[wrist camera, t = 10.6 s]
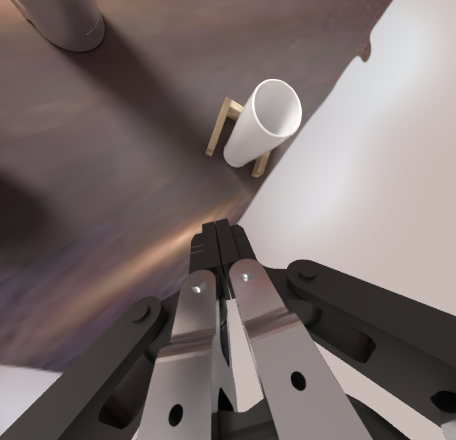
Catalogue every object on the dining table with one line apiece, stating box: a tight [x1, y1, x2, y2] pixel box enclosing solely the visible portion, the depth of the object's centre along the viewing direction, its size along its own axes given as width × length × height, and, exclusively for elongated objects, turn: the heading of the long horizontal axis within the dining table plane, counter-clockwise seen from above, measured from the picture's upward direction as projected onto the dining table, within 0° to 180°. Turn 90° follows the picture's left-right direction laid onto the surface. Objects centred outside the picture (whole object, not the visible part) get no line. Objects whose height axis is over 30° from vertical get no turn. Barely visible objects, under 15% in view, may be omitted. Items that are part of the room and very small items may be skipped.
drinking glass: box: [223, 79, 302, 168], centre depth 26 cm, size 7×7×15 cm
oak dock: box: [205, 97, 270, 178], centre depth 32 cm, size 11×10×4 cm
